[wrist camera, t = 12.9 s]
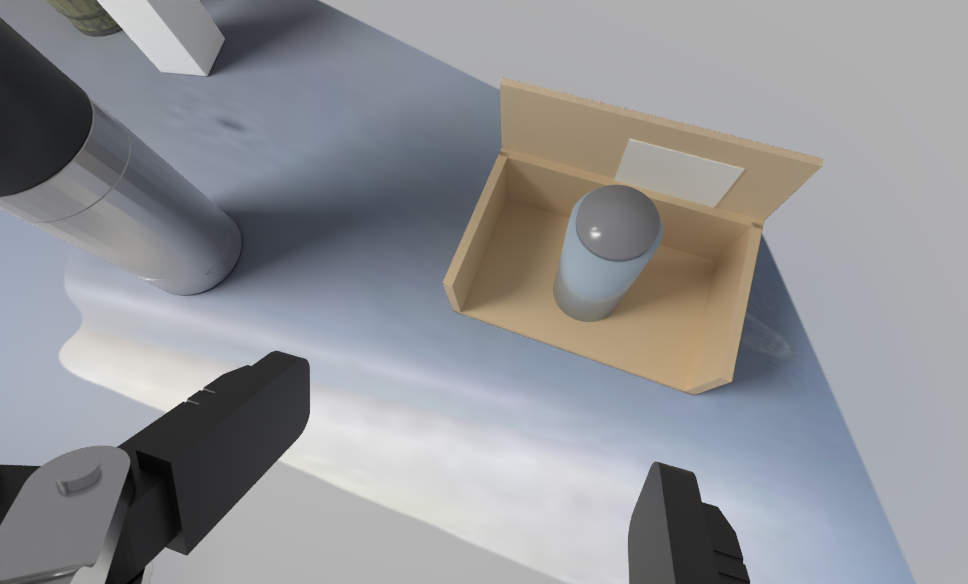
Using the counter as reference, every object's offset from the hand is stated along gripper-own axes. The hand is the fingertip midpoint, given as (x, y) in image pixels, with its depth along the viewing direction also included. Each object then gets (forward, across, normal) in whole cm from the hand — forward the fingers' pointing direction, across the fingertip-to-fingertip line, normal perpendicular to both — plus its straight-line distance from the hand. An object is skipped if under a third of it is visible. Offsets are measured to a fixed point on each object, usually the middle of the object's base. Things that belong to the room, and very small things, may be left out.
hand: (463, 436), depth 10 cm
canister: (+31, -3, +8) cm, 32 cm away
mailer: (+32, -3, +8) cm, 33 cm away
